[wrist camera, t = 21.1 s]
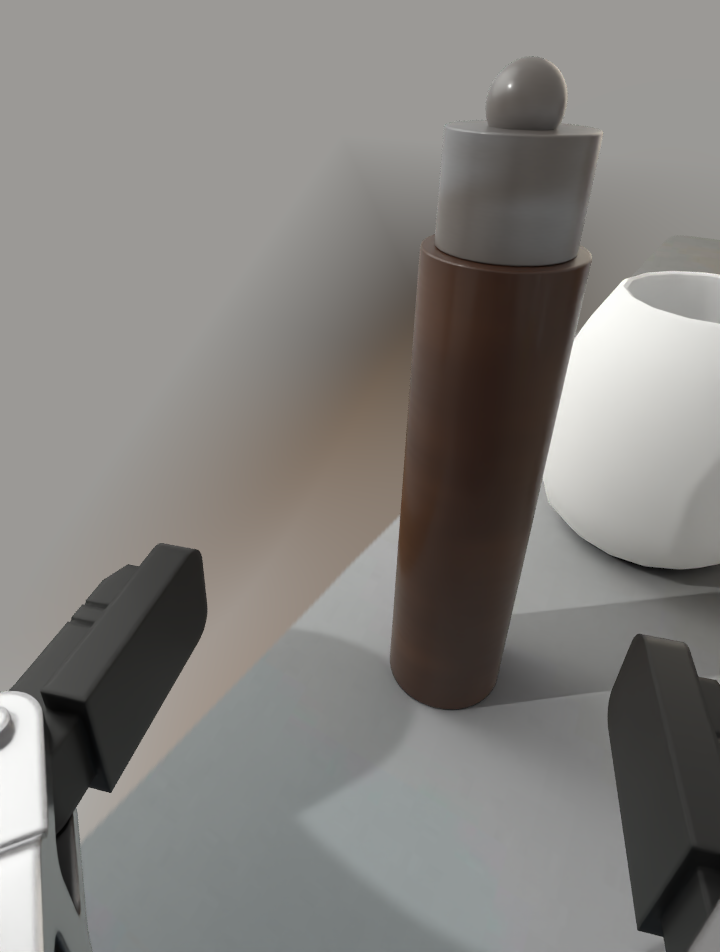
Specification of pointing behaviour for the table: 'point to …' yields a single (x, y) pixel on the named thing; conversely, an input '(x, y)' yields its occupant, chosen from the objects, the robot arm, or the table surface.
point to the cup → (644, 424)
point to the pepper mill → (487, 376)
